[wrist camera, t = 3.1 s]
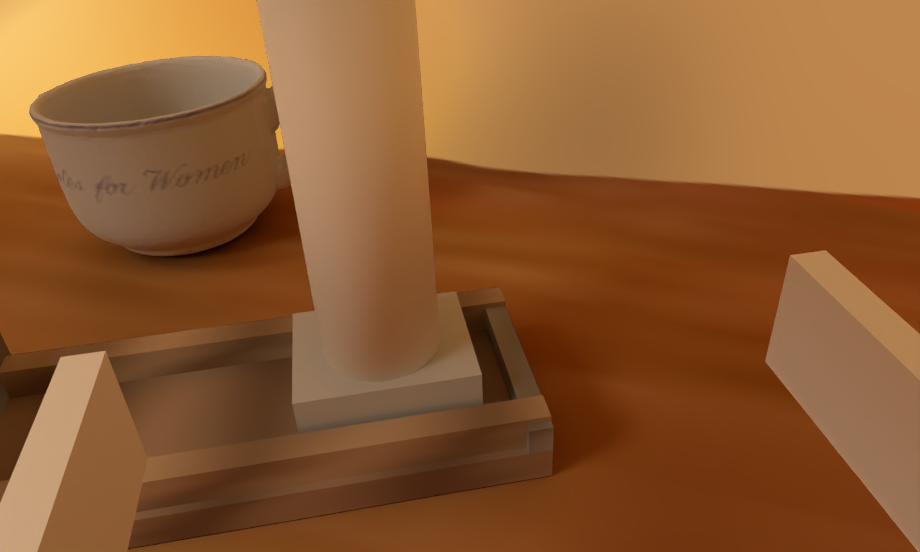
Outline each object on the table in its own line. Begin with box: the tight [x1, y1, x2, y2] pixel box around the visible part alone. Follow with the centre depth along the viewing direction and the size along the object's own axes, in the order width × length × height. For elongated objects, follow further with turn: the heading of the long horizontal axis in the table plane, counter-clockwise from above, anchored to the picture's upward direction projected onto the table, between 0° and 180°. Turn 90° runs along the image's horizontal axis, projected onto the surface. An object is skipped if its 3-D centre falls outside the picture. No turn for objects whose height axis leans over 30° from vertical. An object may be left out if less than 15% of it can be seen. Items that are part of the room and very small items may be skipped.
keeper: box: [257, 0, 483, 434], centre depth 22 cm, size 6×5×16 cm
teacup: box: [30, 56, 291, 256], centre depth 38 cm, size 14×11×8 cm
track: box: [0, 287, 554, 549], centre depth 26 cm, size 20×8×4 cm, turn 100°
